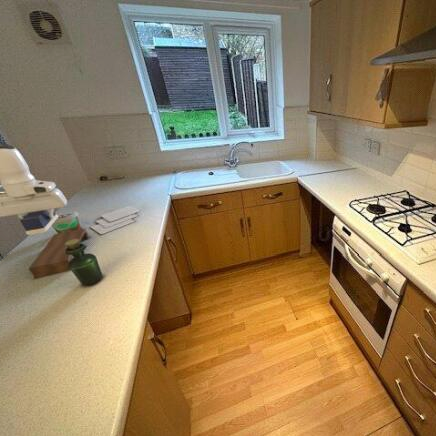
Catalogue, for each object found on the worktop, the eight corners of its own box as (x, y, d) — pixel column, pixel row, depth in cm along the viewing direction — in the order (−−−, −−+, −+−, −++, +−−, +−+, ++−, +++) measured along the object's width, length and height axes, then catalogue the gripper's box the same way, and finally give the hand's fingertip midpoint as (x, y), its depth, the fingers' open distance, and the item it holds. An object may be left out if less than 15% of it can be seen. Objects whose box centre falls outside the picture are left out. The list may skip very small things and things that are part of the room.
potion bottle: (107, 280, 92) (87, 242, 84) (80, 291, 87) (57, 251, 79) (103, 270, 97) (84, 233, 89) (78, 280, 92) (56, 241, 84)
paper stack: (149, 215, 140) (149, 214, 140) (101, 234, 122) (100, 233, 122) (130, 206, 152) (129, 205, 152) (83, 222, 134) (82, 221, 134)
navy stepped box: (46, 231, 92) (38, 218, 90) (27, 235, 90) (18, 221, 88) (58, 216, 104) (51, 204, 101) (42, 219, 102) (34, 206, 99)
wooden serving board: (35, 278, 94) (28, 268, 92) (59, 242, 116) (54, 234, 114) (73, 269, 98) (67, 259, 96) (89, 236, 121) (85, 228, 118)
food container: (54, 240, 119) (44, 222, 114) (54, 235, 123) (45, 217, 118) (85, 231, 125) (76, 214, 121) (84, 227, 130) (76, 210, 125)
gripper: (-21, 196, 83) (2, 230, 90) (53, 186, 91) (70, 218, 97) (-11, 190, 88) (10, 223, 95) (59, 181, 96) (74, 212, 102)
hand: (41, 220), depth 96 cm, fingers closed on navy stepped box, 5 cm apart
